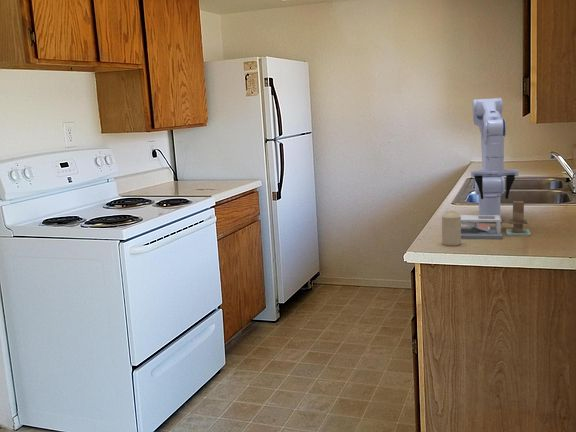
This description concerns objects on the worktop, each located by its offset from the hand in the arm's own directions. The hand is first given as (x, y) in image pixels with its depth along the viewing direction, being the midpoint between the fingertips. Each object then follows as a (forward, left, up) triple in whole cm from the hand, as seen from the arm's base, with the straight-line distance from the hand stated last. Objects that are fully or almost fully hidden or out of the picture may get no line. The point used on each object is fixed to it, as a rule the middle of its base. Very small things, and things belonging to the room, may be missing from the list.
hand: (494, 198), depth 199 cm
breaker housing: (+7, -6, -10) cm, 14 cm away
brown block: (+6, +7, -10) cm, 13 cm away
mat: (+6, +7, -10) cm, 14 cm away
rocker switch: (+7, -6, -8) cm, 12 cm away
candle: (+21, -13, -11) cm, 27 cm away
